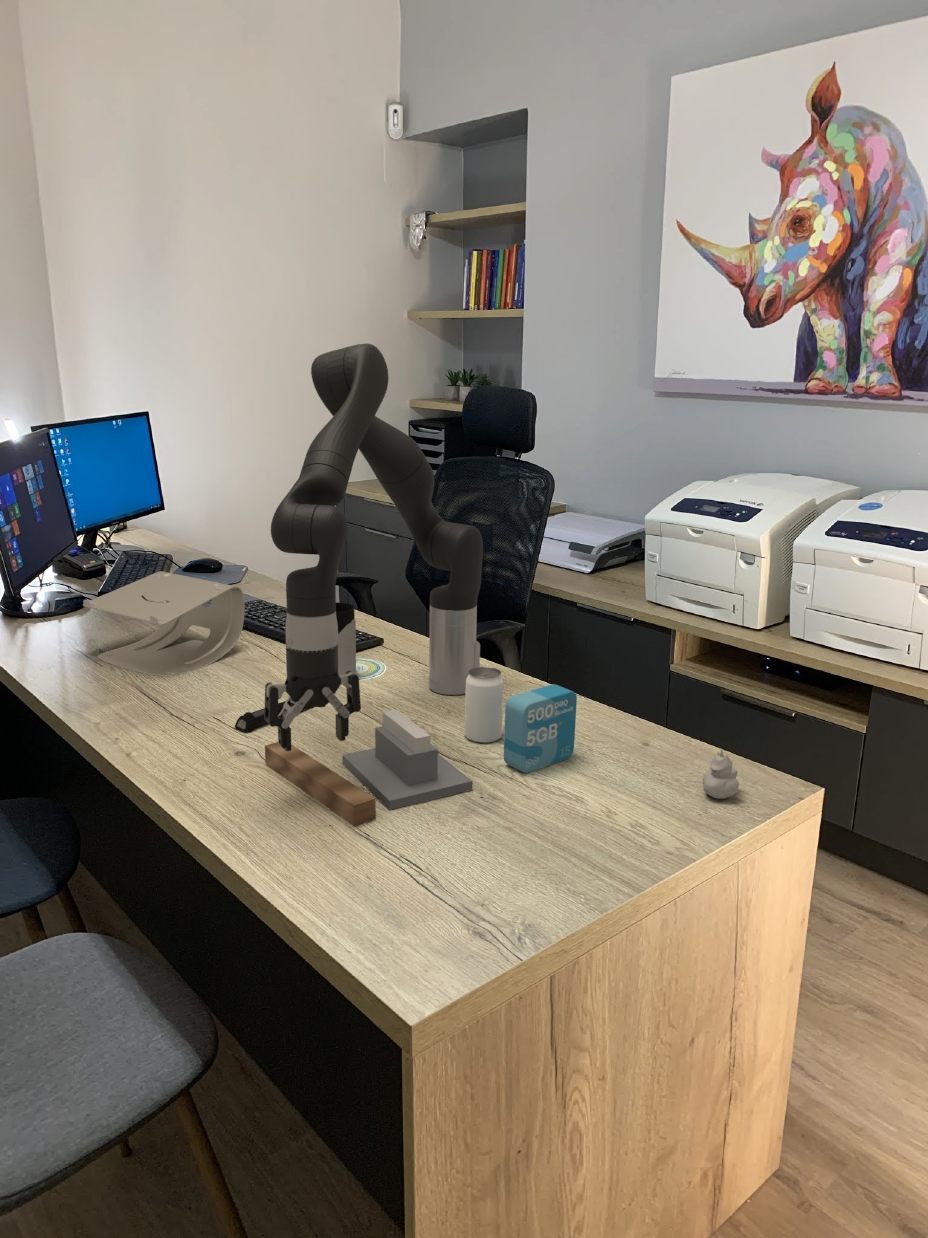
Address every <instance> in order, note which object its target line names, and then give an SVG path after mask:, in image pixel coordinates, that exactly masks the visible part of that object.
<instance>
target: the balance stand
mask: <svg viewBox="0 0 928 1238" xmlns="http://www.w3.org/2000/svg"><path fill="white" fill-rule="evenodd" d="M381 719H382V726H377V727H375V728H374V732H375V733H374V735H375V736H374V737H375V739H374V740H375V741H374V742H375V743H374V745H375V748H367V749H365V750H359V751H355V752H350V753H345V754H344V753H343V754H342V756H341V757H342V764H343V766H344V767H346V768H347V769H348V771H350V772H351V774H353V775H354V776H355V777H356V778H357V780H359V781H360V782H361V784H362V785H364V786H365V787H366V788H367V789H368V790H369V791H370V792H371V793H372V794H373V795H374V796H375V798H377V800H379V801H380V802H381V803H382V804H383V805H384V806H385V807H386V808H387V809H388V810H389V811H391V810H395V809H399V808H404V807H408V806H412V805H415V804H419V803H420V804H421V803H425V802H428V801H432V800H436V799H441V798H446V797H449V796H453V795H457V794H462V793H466V792H469V791H473V780H472V779H470V777H468V776H467V775H466V774H464V773H463V772H461V770H459V769H458V768H457V767H455V766H454V765H453V764H451V763H450V762H449V761H448V760H447V759H445V758H444V757H443V756H441V755H440V754H439V748H437V747H435V746H434V745H433V744H432V743H431V734H429V733H428V732H426V731H425V730H423V729H422V728H421V727H420V726H418V725H417V724H416V723H414V722H413V721H412V720H411V719H409V718H408V717H407V716H405V715H404V714H403V713H401V712H400V711H399V710H398V709H390V710H385V711H382V718H381Z"/></svg>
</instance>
